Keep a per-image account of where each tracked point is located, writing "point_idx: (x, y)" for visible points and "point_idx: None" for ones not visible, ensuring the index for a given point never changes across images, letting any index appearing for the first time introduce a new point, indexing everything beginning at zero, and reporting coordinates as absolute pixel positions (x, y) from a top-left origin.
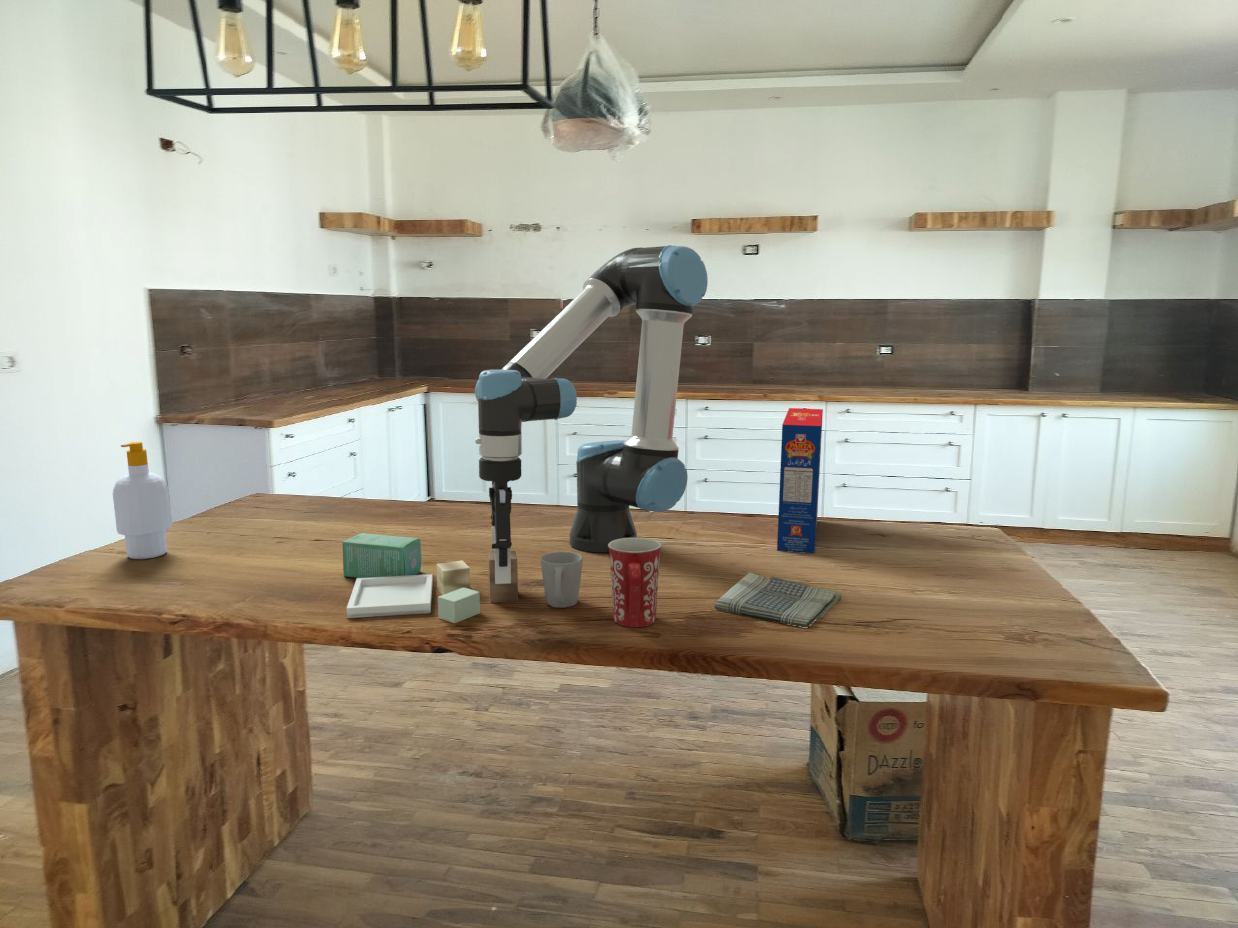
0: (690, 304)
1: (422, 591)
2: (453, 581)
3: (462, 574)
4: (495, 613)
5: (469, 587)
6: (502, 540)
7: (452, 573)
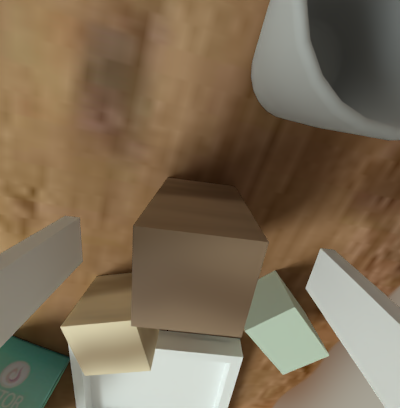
0: None
1: None
2: None
3: None
4: (291, 245)
5: None
6: (13, 281)
7: (147, 345)
